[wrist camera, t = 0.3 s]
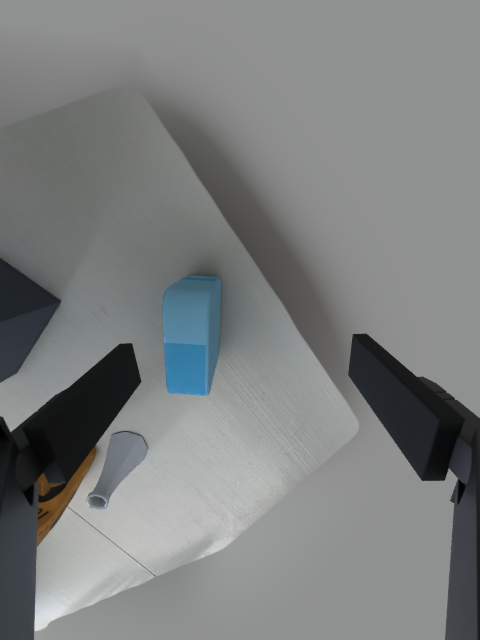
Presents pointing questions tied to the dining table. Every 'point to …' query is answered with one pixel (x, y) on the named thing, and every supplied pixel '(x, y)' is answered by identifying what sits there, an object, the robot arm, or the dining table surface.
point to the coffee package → (57, 497)
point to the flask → (117, 466)
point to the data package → (191, 333)
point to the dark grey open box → (20, 317)
